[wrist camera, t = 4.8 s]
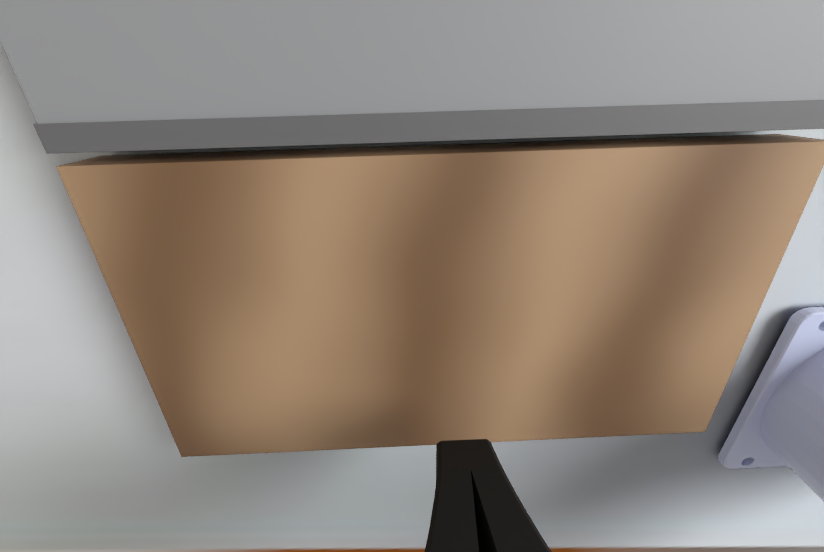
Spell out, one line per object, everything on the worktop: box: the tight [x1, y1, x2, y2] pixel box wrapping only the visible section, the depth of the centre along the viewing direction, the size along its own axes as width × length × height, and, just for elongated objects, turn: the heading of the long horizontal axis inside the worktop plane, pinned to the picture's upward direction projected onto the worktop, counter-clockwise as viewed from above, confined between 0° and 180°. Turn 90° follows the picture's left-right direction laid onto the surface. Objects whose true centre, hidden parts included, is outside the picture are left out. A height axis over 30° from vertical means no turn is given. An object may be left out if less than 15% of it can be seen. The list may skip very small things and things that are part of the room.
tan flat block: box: [56, 134, 824, 457], centre depth 12 cm, size 18×10×2 cm, turn 91°
